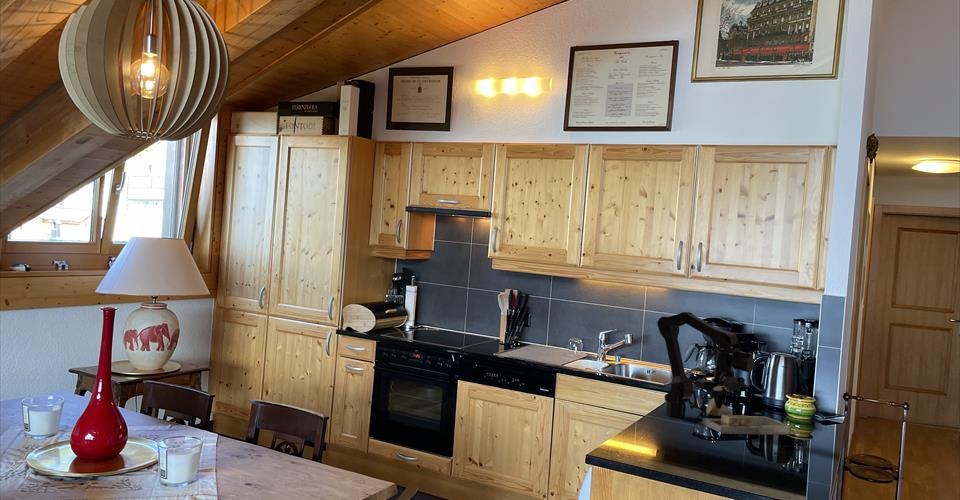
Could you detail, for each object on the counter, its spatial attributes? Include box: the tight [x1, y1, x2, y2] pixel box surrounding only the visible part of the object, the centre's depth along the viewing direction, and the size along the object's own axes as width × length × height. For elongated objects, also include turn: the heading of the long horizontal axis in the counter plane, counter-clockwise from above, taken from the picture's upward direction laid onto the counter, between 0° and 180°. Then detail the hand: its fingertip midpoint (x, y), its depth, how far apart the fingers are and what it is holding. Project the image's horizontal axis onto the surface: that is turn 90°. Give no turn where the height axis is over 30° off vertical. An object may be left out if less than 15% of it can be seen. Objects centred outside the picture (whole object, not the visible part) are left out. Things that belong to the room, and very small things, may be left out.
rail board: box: [700, 415, 792, 436], centre depth 282 cm, size 30×14×4 cm, turn 109°
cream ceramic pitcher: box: [705, 397, 734, 417], centre depth 301 cm, size 8×10×10 cm
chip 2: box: [733, 414, 752, 426], centre depth 281 cm, size 4×4×4 cm
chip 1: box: [720, 414, 739, 426], centre depth 279 cm, size 4×4×4 cm
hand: (718, 408), depth 278 cm, fingers closed
